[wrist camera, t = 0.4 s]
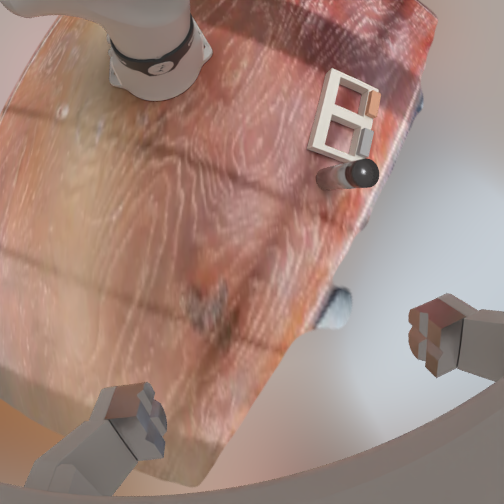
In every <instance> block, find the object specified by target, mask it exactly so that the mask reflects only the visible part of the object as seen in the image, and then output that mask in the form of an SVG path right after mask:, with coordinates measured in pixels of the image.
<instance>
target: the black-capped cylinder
mask: <svg viewBox="0 0 504 504" xmlns="http://www.w3.org/2000/svg"><path fill="white" fill-rule="evenodd" d="M378 179H379V170H378V167H377V165H376V164H375V163H374V162H373V161H372V160H370V159H366V158H365V159H360V160H356V161H351V162H347V163H343V164H339V165H335V166H331V167H327V168H323V169H321V170H319V171H318V173H317V175H316V182H317V184H318V186H319V187H320V188H321V189H323V190H336V189H351V188H367V187H372V186H374V185H375V184H376V183H377V181H378Z"/></svg>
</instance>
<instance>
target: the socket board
mask: <svg viewBox="0 0 504 504" xmlns="http://www.w3.org/2000/svg"><path fill="white" fill-rule="evenodd" d="M339 84H340V85H343V86H345V87H347V88H349V89H352V90H354V91H356V92H358V93H360V94H362V95H361V100H360V105H359V110H358V114H356V113H354V112H351V111H349V110H347V109H344V108H342V107H340V106H337V105H335V100H336V95H337V91H338V87H339ZM378 91H379V90H378V89H376V88H374V87H372V86H370V85H368V84H366V83H364V82H362V81H359V80H357V79H355V78H353V77H351V76H348V75H346V74H344V73H342V72H339V71H337V70H335V69H331V70H330V71H328V72H327V73H326V76H325V80H324V84H323V88H322V92H321V96H320V99H319V103H318V107H317V111H316V115H315V119H314V123H313V127H312V131H311V134H310V138H309V142H308V146H307V149H308V150H311V151H314V152H316V153H319V154H322V155H325V156H327V157H330V158H333V159H335V160H338V161H341V162H343V163H347V162H351V161H356V160H360V159H365V158H366V157H368V156H369V152H370V147H371V143H372V138H373V133H374V131H372V130H371V127H372V122H373V118H375V117H377V113H378V108H379V103H380V97H381V94H380V93H378ZM330 120H332V121H335V122H337V123H339V124H342V125H344V126H347V127H349V128H351V129H354V133H353V137H352V142H351V146H350V150H349V154H347V153H344V152H342V151H339V150H336V149H334V148H331V147H329V146H326V145H325V141H326V137H327V133H328V129H329V125H330Z"/></svg>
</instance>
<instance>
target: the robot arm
mask: <svg viewBox="0 0 504 504" xmlns="http://www.w3.org/2000/svg"><path fill="white" fill-rule="evenodd" d="M0 2H1V3H2V4H3V6H5V8H7V10H9V11H10V12H12V13H13V14H15V15H18V16H21V17H24V18H32V17H39V16H47V15H67V16H74V17H79V18H83V19H86V20H90V21H93V22H95V23H97V24H99V25H101V26H102V27H103V28H104V30H105V31H106V32H107V42H108V44H111V49H109V50H108V54H109V57H110V73H109V81H110V83H111V85H112V86H115V87H119V88H124V89H126V90H128V91H129V92H131V93H132V94H133V95H135V96H136V97H139V98H141V99H144V100H149V101H161V100H167V99H170V98H173V97H176V96H178V95H179V94H181V93H183V92H184V91H186V90H187V89H188V88H189V87H190V86H191V85H192V84H193V83H194V81H195V80H196V78H197V77H198V75H199V72H200V70H201V68H202V66H203V64H204V63H206V62H207V61H208V60H209V59H210V58H211V56H212V54H213V52H212V48H211V46H210V45H209V43H208V41H207V40H206V38H205V37H204V35H203V33H202V32H201V30H200V28H199V27H198V25H197V24H196V22H195V20H194V19H193V17H192V15H191V13H190V0H0ZM204 47H205V48H204ZM114 74H115V75H114ZM409 323H410V324H411V325H412V328H411V330H410V332H409V345H410V348H411V351H412V353H413V354H414V356H415V357H416V358H417V359H419V360H422V361H426V363H425V367H426V368H427V369H428V370H429V371H430V372H431V373H432V374H433V375H434V376H435V377H436V378H437V377H439V376H441V375H443V374H446V373H448V372H450V371H452V370H454V369H456V368H458V369H460V370H462V371H465V372H468V373H472V374H474V375H477V376H480V377H483V378H486V379H489V380H492V381H495V383H494V384H492V385H491V386H489V387H488V388H486V389H485V390H483V391H482V392H480V393H479V394H477V395H476V396H474V397H472V398H471V399H469V400H467V401H466V402H464V403H462V404H461V405H459V406H457V407H456V408H454V409H453V410H450V411H449V412H447V413H445V414H443V415H441V416H439V417H438V418H436V419H434V420H432V421H430V422H428V423H426V424H424V425H423V426H420V427H418V428H416V429H414V430H412V431H410V432H408V433H406V434H404V435H402V436H399V437H397V438H395V439H392V440H390V441H388V442H386V443H383V444H381V445H379V446H376V447H374V448H371V449H369V450H366V451H364V452H361V453H358V454H356V455H353V456H350V457H347V458H345V459H342V460H339V461H336V462H333V463H330V464H327V465H324V466H320V467H317V468H314V469H311V470H307V471H303V472H300V473H296V474H293V475H289V476H285V477H281V478H277V479H272V480H268V481H263V482H259V483H254V484H249V485H244V486H238V487H232V488H226V489H220V490H213V491H205V492H197V493H187V494H176V495H161V496H127V497H126V496H112V495H113V494H114V493H115V492H116V490H117V489H118V488H119V486H120V485H121V484H122V483H123V481H124V480H125V478H126V477H127V476H128V474H129V473H130V472H131V471H132V469H133V468H134V467H135V466H136V464H137V463H138V461H142V460H151V459H160V458H164V449H165V441H164V439H163V437H162V436H163V435H164V434H165V433H166V432H167V420H166V415H165V412H164V409H163V407H162V405H161V403H159V402H158V401H156V400H155V399H154V395H155V392H154V390H153V388H152V386H151V384H149V383H148V382H144V383H137V384H129V385H121V386H114V387H107V388H104V389H102V390H101V392H100V395H99V397H98V400H97V402H96V404H95V407H94V409H93V412H92V414H91V417H90V419H89V421H85V422H83V423H82V424H81V425H80V426H78V427H77V428H76V429H75V430H73V431H72V432H71V433H70V434H68V435H67V436H66V437H65V438H63V439H62V440H61V441H60V442H58V443H57V444H56V445H55V446H53V447H52V448H51V449H50V450H49V451H47V452H46V453H45V454H43V455H42V456H41V457H40V458H38V459H37V460H36V461H35V462H34V465H33V467H32V469H31V471H30V474H29V476H28V478H27V481H26V483H25V485H24V487H20V486H16V485H11V484H6V483H1V482H0V504H504V312H502V311H492V310H484V309H482V310H479V311H478V310H476V309H475V308H473V307H471V306H470V305H468V304H467V303H465V302H463V301H462V300H460V299H458V298H457V297H455V296H453V295H452V294H444V295H442V296H440V297H438V298H436V299H434V300H432V301H430V302H427V303H425V304H423V305H420V306H418V307H415V308H413V309H411V310H410V312H409Z"/></svg>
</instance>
